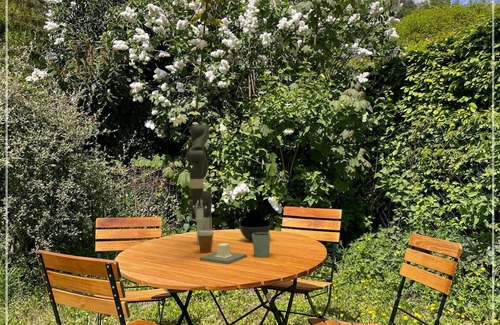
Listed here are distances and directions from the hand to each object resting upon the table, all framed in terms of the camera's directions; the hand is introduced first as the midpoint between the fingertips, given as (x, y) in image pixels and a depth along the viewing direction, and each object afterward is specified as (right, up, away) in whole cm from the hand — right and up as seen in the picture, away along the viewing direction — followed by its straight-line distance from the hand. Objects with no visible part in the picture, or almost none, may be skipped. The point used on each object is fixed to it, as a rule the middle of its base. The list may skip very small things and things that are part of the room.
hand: (196, 218), depth 235 cm
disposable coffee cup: (+3, -21, +15) cm, 26 cm away
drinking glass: (+35, -21, +3) cm, 41 cm away
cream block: (+15, -20, -3) cm, 25 cm away
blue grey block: (0, 0, 0) cm, 0 cm away
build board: (+15, -21, -3) cm, 26 cm away
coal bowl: (+32, -21, +46) cm, 60 cm away
